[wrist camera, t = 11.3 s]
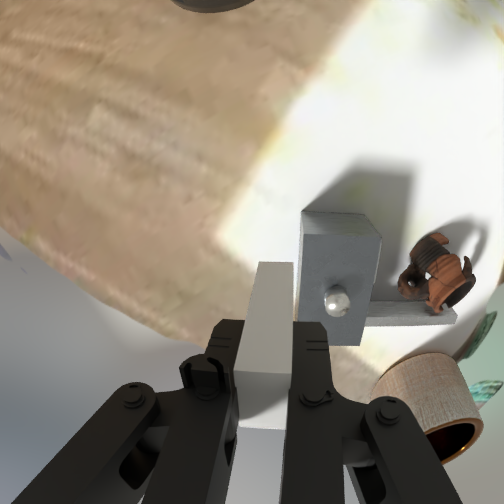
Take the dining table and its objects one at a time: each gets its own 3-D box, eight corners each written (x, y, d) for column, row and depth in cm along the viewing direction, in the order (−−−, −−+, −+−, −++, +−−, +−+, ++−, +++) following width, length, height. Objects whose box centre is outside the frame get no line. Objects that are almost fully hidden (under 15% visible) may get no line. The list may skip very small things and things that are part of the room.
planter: (390, 422, 52) (401, 484, 38) (353, 383, 48) (363, 458, 34) (463, 381, 46) (489, 440, 32) (441, 331, 42) (477, 400, 27)
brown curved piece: (455, 220, 35) (490, 263, 30) (439, 263, 42) (466, 302, 37) (387, 246, 35) (422, 299, 29) (378, 289, 42) (403, 336, 36)
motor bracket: (301, 211, 37) (304, 241, 28) (467, 223, 34) (506, 251, 25) (295, 307, 43) (294, 355, 34) (444, 309, 40) (470, 349, 31)
